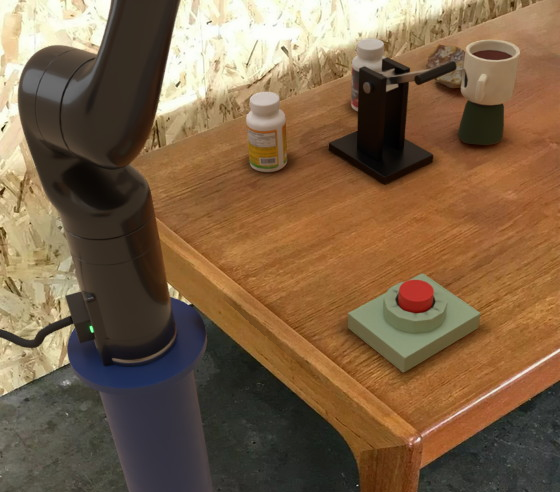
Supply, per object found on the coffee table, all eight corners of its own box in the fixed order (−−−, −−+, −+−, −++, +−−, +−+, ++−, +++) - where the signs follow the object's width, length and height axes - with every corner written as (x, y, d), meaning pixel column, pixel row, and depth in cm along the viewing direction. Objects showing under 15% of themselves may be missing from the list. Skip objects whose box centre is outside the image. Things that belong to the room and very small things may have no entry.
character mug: (465, 117, 119) (476, 30, 110) (512, 125, 117) (528, 37, 108) (444, 153, 112) (455, 62, 103) (494, 162, 110) (510, 70, 101)
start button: (414, 318, 82) (415, 306, 81) (391, 301, 85) (391, 288, 83) (439, 304, 84) (441, 291, 83) (415, 287, 86) (417, 275, 85)
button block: (403, 373, 82) (406, 345, 79) (347, 327, 87) (348, 300, 84) (478, 328, 86) (483, 300, 83) (420, 287, 92) (423, 259, 89)
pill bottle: (344, 102, 124) (345, 40, 117) (375, 95, 125) (378, 33, 118) (360, 117, 120) (362, 54, 113) (391, 110, 122) (395, 46, 115)
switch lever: (458, 75, 97) (454, 55, 96) (423, 90, 95) (418, 69, 94) (396, 84, 107) (391, 66, 106) (362, 98, 105) (357, 79, 104)
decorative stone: (463, 72, 118) (408, 48, 129) (462, 101, 121) (408, 75, 132) (515, 57, 121) (457, 35, 132) (513, 86, 124) (456, 61, 135)
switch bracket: (432, 162, 111) (442, 73, 102) (384, 184, 107) (389, 94, 98) (375, 129, 118) (379, 43, 109) (328, 150, 114) (328, 62, 105)
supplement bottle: (269, 149, 115) (266, 84, 108) (295, 162, 112) (293, 97, 105) (241, 163, 112) (236, 98, 106) (267, 177, 110) (263, 111, 103)
